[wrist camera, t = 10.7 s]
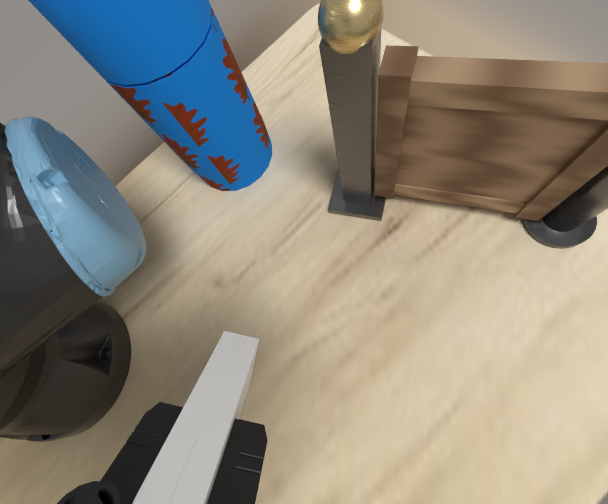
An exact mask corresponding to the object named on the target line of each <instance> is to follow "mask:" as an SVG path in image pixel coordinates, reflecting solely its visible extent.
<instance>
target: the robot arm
mask: <svg viewBox="0 0 608 504" xmlns="http://www.w3.org/2000/svg"><path fill="white" fill-rule="evenodd" d="M145 254H146V240H145V236H144V233H143V230H142V228H141V226H140V224H139V222H138V220H137V218H136V216H135V215H134V213H133V211H132V210H131V208H130V206H129V205H128V203H127V202H126V200H125V199H124V198H123V196H122V195H121V194H120V192H119V191H118V190H117V188H116V187H115V186H114V184H113V183H112V182H111V181H110V180H109V178H108V177H107V176H106V175H105V174H104V173H103V172H102V170H101V169H100V168H99V167H98V166H97V165H96V164H95V163H94V162H93V160H92V159H91V158H90V157H89V156H88V155H87V154H86V153H85V152H84V151H83V150H82V149H81V148H79V146H77V145H76V144H75V143H74V142H73V141H72V140H71V139H70V138H68V137H67V136H66V135H65V134H63V133H62V132H60V131H58V130H56V129H55V128H53V127H52V126H51V125H50V124H49V123H47V122H45V121H43V120H41V119H39V118H35V117H27V118H23V119H14V120H11V121H10V122H8V123H7V125H6V126H5V125H3V124H1V123H0V437H1V438H10V439H19V440H29V441H38V442H43V441H52V440H57V439H61V438H64V437H68V436H72V435H75V434H78V433H80V432H82V431H84V430H86V429H88V428H90V427H91V426H93V425H94V424H95V423H96V422H98V421H99V420H100V419H101V418H102V417H103V416H104V415H105V414H106V413H107V412H108V410H109V409H110V408H111V407H112V405H113V404H114V402H115V401H116V399H117V397H118V395H119V394H120V392H121V390H122V387H123V385H124V382H125V380H126V376H127V373H128V368H129V363H130V340H129V335H128V331H127V329H126V326H125V324H124V322H123V320H122V318H121V317H120V316H119V314H118V313H117V312H116V311H115V310H114V309H112V308H111V307H110V306H108V305H106V304H104V303H102V302H98V300H99V299H101V298H102V297H106V296H107V297H108V296H109V295H111V294H112V293H113V292H114V291H115V288H116V286H117V285H118V284H120V283H121V282H122V281H123V280H124V279H126V278H127V277H128V276H129V275H130V274H131V273H133V272H134V271H135V270H136V269H137V268H138V267H139V266H140V265H141V263H142V262H143V260H144V258H145ZM258 344H259V339H257V338H253V337H249V336H244V335H240V334H236V333H232V332H227V331H224V333H223V334H222V336H221V338H220V340H219V342H218V344H217V346H216V348H215V349H214V351H213V353H212V355H211V357H210V359H209V361H208V362H207V364H206V366H205V368H204V370H203V372H202V374H201V376H200V377H199V379H198V381H197V383H196V385H195V387H194V389H193V391H192V392H191V394H190V396H189V398H188V400H187V402H186V404H185V406H184V407H179V406H175V405H170V404H166V403H162V402H159V403H158V404H157V405H155V406H154V407H153V408H152V409H150V410H149V411H148V412H146V413H145V415H144V416H143V418H142V419H141V421H140V422H139V424H138V425H137V427H136V428H135V431H134V432H133V433H132V434H131V436H130V437H129V439H128V440H127V442H126V444H125V445H124V446H123V448H122V449H121V451H120V452H119V454H118V455H117V457H116V458H115V460H114V461H113V463H112V464H111V466H110V467H109V469H108V470H107V472H106V473H105V475H104V476H103V478H102V479H101V481H93V482H90V483H87V484H84V485H80V486H78V487H77V488H75V489H74V490H72V491H71V492H69V493H67V494H66V495H65V496H64V497H63V498H62V499H61V500H60V501H59V502H58V503H57V504H255V501H256V496H257V491H258V486H259V481H260V475H261V470H262V465H263V460H264V455H265V450H266V445H267V437H266V432H265V427H264V425H262V424H257V423H253V422H249V421H244V420H240V416H241V413H242V410H243V406H244V403H245V400H246V397H247V394H248V390H249V386H250V382H251V377H252V372H253V367H254V363H255V358H256V353H257V348H258Z"/></svg>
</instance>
